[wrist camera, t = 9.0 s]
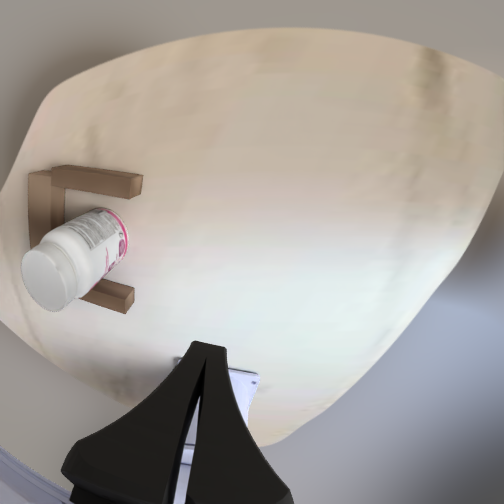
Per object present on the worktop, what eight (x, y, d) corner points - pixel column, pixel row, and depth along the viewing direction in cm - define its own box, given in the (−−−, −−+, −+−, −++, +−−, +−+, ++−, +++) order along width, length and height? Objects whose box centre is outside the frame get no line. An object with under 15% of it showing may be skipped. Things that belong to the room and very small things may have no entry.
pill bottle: (117, 273, 21) (63, 331, 13) (77, 241, 20) (13, 286, 12) (140, 228, 20) (79, 278, 12) (95, 195, 19) (22, 227, 11)
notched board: (134, 301, 22) (125, 314, 20) (46, 272, 21) (34, 281, 19) (143, 175, 18) (131, 178, 16) (43, 162, 17) (29, 165, 16)
